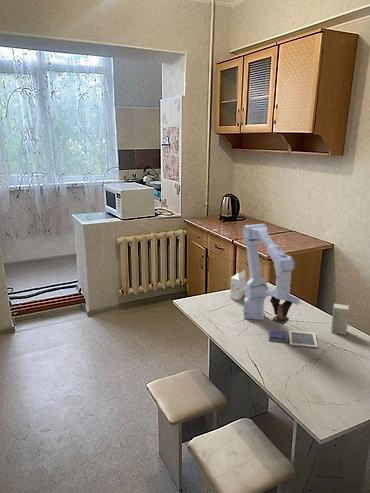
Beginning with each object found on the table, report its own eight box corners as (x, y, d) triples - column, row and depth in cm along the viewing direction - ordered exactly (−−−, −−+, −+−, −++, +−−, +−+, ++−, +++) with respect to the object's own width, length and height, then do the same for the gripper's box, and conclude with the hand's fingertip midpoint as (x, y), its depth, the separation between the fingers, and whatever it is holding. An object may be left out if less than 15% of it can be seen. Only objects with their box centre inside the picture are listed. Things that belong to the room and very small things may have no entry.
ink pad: (268, 340, 156) (268, 337, 155) (268, 332, 163) (268, 328, 162) (288, 342, 154) (288, 339, 154) (287, 334, 161) (287, 330, 160)
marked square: (289, 345, 152) (289, 343, 152) (288, 331, 163) (288, 330, 163) (317, 348, 150) (318, 346, 150) (314, 334, 161) (314, 333, 160)
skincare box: (346, 330, 163) (350, 305, 160) (346, 335, 159) (349, 309, 156) (331, 327, 166) (334, 302, 162) (330, 332, 162) (333, 307, 158)
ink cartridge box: (236, 292, 203) (237, 267, 198) (245, 294, 200) (246, 269, 196) (229, 298, 196) (230, 272, 191) (238, 300, 193) (239, 274, 189)
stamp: (272, 321, 157) (273, 306, 155) (277, 316, 161) (278, 302, 159) (283, 324, 154) (284, 309, 152) (288, 320, 158) (289, 305, 156)
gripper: (303, 286, 151) (301, 316, 155) (271, 278, 160) (269, 307, 164) (296, 292, 146) (293, 323, 150) (263, 283, 155) (261, 312, 159)
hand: (280, 315), depth 156 cm, fingers closed on stamp, 3 cm apart
